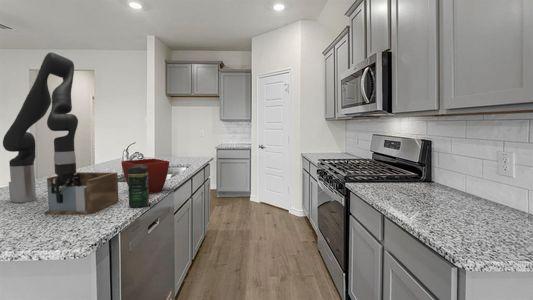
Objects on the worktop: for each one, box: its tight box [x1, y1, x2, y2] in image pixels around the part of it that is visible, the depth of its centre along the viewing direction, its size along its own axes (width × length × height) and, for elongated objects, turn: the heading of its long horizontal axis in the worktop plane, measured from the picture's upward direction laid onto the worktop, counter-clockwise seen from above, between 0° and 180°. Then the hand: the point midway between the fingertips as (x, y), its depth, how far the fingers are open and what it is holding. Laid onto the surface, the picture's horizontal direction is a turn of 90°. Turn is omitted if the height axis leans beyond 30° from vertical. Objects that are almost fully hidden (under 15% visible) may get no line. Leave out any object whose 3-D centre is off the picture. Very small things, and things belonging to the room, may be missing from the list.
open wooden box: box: [43, 171, 119, 215], centre depth 136 cm, size 22×21×14 cm
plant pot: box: [121, 158, 170, 194], centre depth 168 cm, size 19×19×17 cm
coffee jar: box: [128, 165, 150, 209], centre depth 139 cm, size 10×8×19 cm
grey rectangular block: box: [47, 186, 88, 212], centre depth 129 cm, size 16×4×10 cm, turn 87°
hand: (67, 200), depth 129 cm, fingers open, 8 cm apart
